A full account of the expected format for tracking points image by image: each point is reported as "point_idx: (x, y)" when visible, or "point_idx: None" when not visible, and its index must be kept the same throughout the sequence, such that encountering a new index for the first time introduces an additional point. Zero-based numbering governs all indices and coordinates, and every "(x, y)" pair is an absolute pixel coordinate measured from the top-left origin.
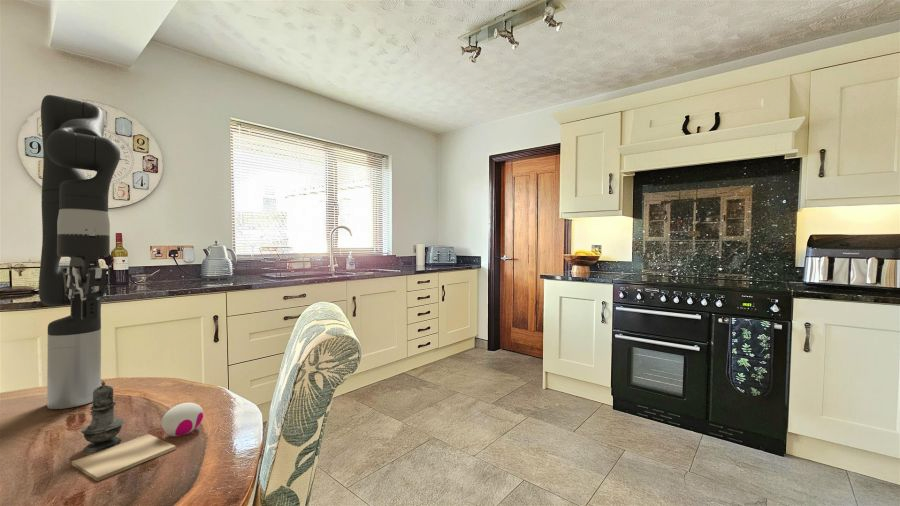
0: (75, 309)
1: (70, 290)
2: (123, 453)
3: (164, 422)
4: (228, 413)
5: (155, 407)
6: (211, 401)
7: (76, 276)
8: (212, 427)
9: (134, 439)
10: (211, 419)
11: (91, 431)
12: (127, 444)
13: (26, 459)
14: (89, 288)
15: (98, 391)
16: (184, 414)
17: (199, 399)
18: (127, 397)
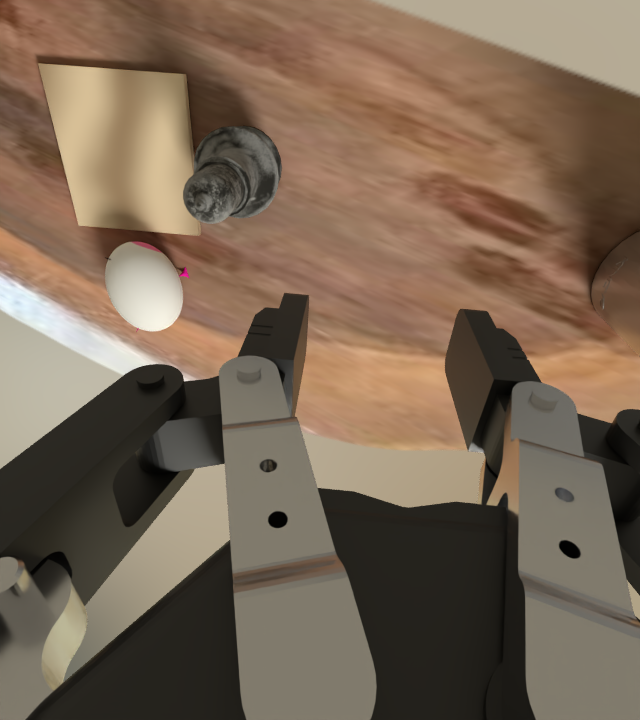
0: (466, 349)
1: (546, 439)
2: (128, 154)
3: (124, 249)
4: (183, 367)
5: (377, 333)
6: None
7: (264, 550)
8: None
9: None
10: (181, 337)
11: (212, 139)
12: (175, 184)
13: (329, 30)
14: (67, 429)
15: (191, 180)
16: (107, 284)
17: (327, 393)
18: (526, 346)
